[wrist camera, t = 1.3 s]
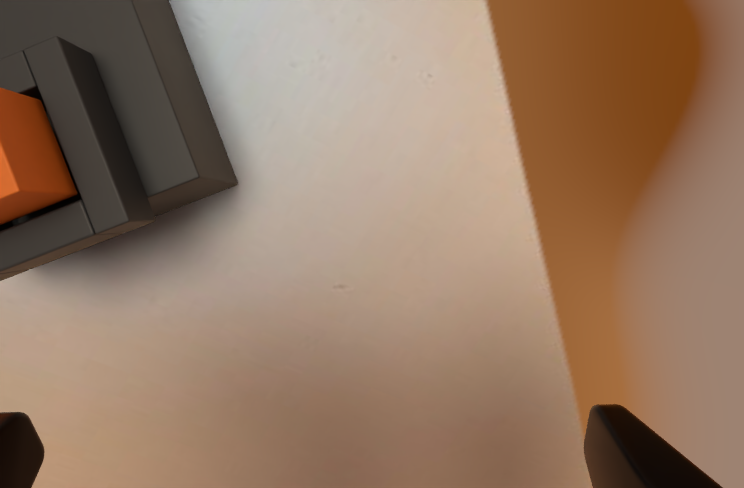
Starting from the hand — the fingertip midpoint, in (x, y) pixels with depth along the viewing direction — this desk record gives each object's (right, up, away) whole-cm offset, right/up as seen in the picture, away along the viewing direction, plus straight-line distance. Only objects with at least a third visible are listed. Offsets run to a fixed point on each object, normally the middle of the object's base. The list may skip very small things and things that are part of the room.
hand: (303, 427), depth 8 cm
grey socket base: (-11, +9, +14) cm, 20 cm away
